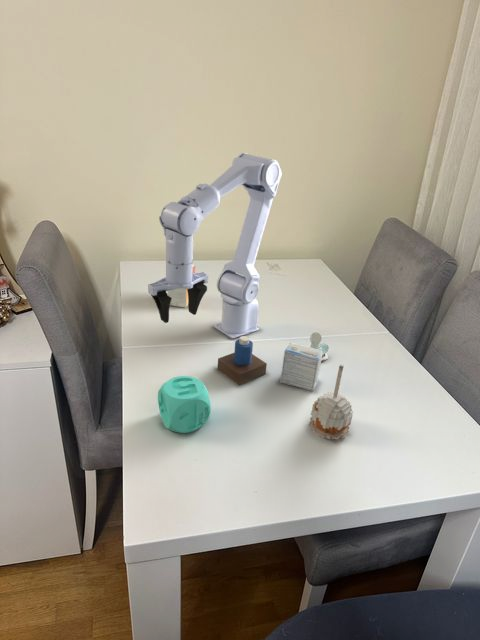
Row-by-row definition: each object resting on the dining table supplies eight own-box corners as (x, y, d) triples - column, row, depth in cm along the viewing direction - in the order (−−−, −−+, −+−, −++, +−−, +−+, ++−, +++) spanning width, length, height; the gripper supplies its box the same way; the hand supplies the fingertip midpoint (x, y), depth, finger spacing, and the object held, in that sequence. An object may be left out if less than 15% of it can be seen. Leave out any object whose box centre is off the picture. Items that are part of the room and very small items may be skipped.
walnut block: (243, 359, 119) (244, 348, 117) (265, 374, 114) (266, 363, 112) (217, 369, 114) (217, 358, 112) (239, 385, 109) (240, 374, 107)
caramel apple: (322, 411, 103) (334, 350, 96) (354, 428, 99) (369, 366, 92) (301, 428, 98) (312, 365, 90) (334, 446, 94) (348, 382, 86)
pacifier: (332, 362, 122) (323, 349, 127) (337, 340, 118) (327, 328, 123) (305, 364, 120) (296, 351, 124) (309, 342, 116) (300, 329, 121)
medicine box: (317, 382, 113) (323, 350, 109) (313, 392, 109) (319, 359, 105) (285, 373, 115) (289, 341, 110) (279, 383, 111) (284, 350, 107)
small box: (186, 308, 140) (186, 273, 134) (167, 305, 140) (167, 270, 135) (194, 297, 147) (195, 264, 141) (177, 294, 147) (177, 261, 142)
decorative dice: (170, 437, 92) (170, 403, 88) (157, 413, 98) (157, 379, 94) (210, 427, 95) (211, 394, 91) (195, 404, 101) (196, 372, 97)
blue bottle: (238, 354, 114) (240, 332, 111) (253, 359, 113) (256, 336, 110) (230, 362, 111) (232, 339, 108) (246, 367, 110) (248, 344, 107)
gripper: (160, 272, 98) (161, 332, 105) (217, 260, 107) (214, 316, 114) (142, 261, 103) (143, 319, 109) (198, 251, 112) (196, 304, 118)
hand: (178, 316), depth 112 cm, fingers open, 7 cm apart
